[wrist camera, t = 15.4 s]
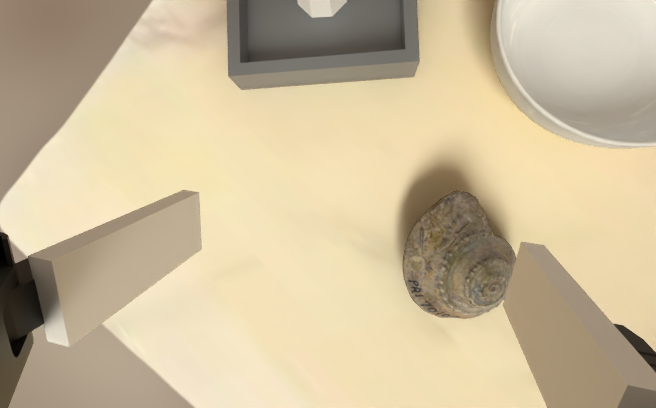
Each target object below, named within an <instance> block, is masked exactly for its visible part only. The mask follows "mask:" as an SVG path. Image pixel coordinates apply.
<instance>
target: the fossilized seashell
mask: <svg viewBox="0 0 656 408" xmlns="http://www.w3.org/2000/svg"><path fill="white" fill-rule="evenodd" d="M515 262H516V256H515V253H514V251H513V249H512V248H511V246H510V245H509V243H508V242H507V241H505V240H504V239H503V238H501V237H499V236H496V235H494V234H493V231H492V229H491V227H490V225H489V221H488V219H487V216H486V213H485V211H484V210H483V208H482V207H481V205H480V204H479V202H478V200H477V199H476V197H474V196H472V195H471V194H469V193H467V192H466V193H465V192H460V191H454V192H452V193H451V194H449V195H447V196H445V197H443V198H442V199H440V200H439V201H438V202H437V203H436V204H434V205H433V206H432V207H431V208H430V209H429V210H428V211H427V212H426V213H425V214H424V215H423V216H422V217H421V218H420V219H419V220H418V221H417V222H416V224H415V225H414V227H413V229H412V231H411V233H410V235H409V237H408V239H407V243H406V246H405V251H404V257H403V275H404V280H405V283H406V286H407V289H408V291H409V294H410V296H411V298H412V299H413V301H414V302H415V303H416V304H417V305H418V306H419V307H420V308H422V309H423V310H424V311H426V312H428V313H430V314H432V315H435V316H438V317H441V318H447V317H454V318H463V319H467V318H473V317H476V316H479V315H481V314H483V313H485V312H489V311H490V310H492V309H493V308H494V307H497V306H498V305H499V304H500V303H501V302H502V300H504V299H505V297H506V293H507V290H508V286H509V283H510V279H511V276H512V272H513V269H514V265H515Z"/></svg>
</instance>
